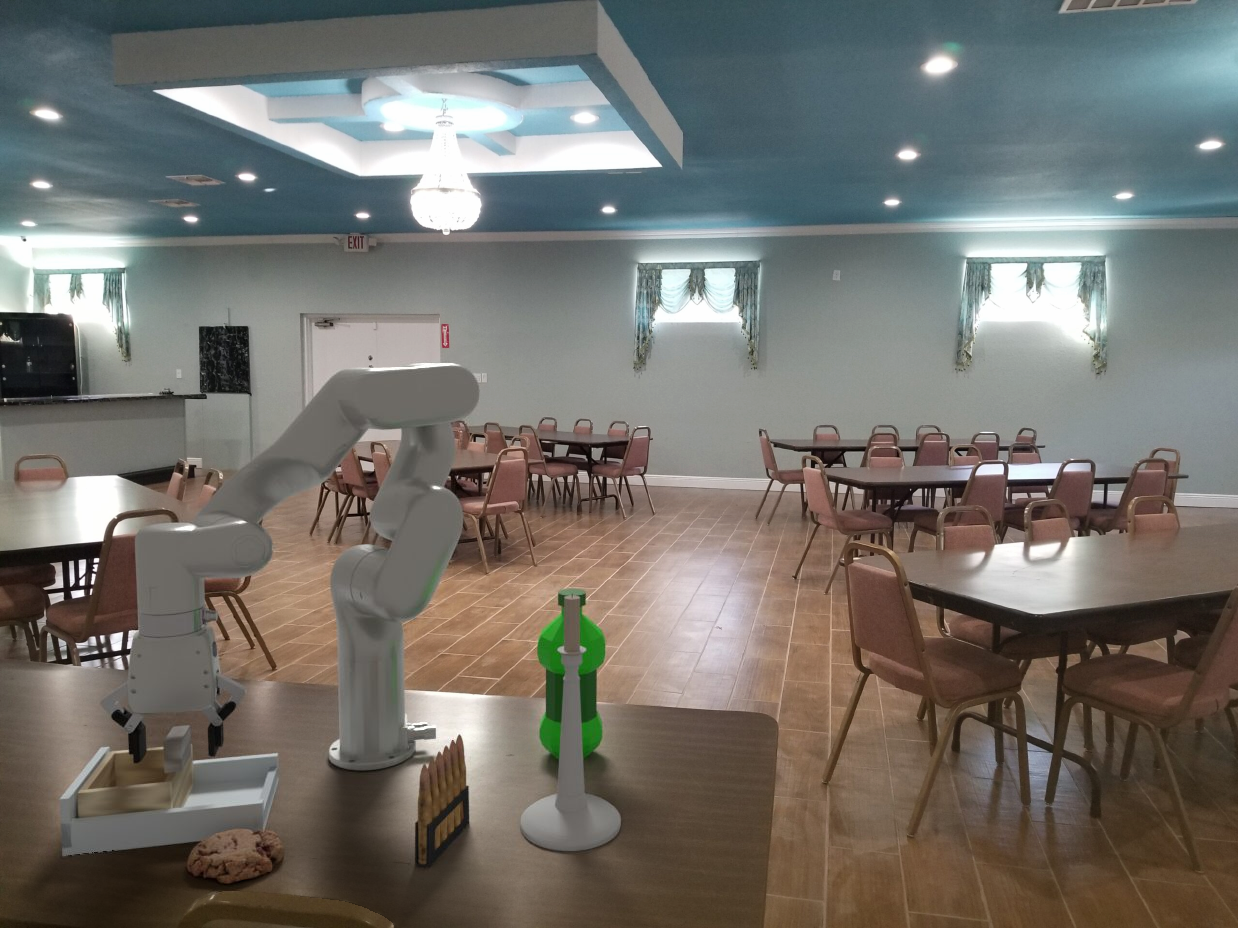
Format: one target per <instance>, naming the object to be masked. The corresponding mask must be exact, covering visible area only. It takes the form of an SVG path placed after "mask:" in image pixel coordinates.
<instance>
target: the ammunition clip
mask: <svg viewBox="0 0 1238 928" xmlns="http://www.w3.org/2000/svg"><path fill="white" fill-rule="evenodd" d="M465 756H466V755H465V746H464V741H463V737H462V735H461V734H458V735H457V737H456V740H454V739H452V740H451V742H450V743H449V747H448V745H445V746H444V748H443V750H442V753H441V751H438V752H437V754H436V757H435V760H434V757H431V758H430V759H429V763H428V765H427V764H425V763H424V764H423V765H422V767H421V770H420V774H419V775H420V776H419V783H418V784H419V788H418V798H417V821H416V822H415V825H414V866H417V867H422V868H427V869H430V868H431V867H432V865H433V864H434V863H435V862H436V861H437V860H438V859H439V858H440V857H441V856H442V854H443V853H444V852H445V851H446V850H447V849H448V848H449V847H450V845H452V844H453V842H454V841H455V840H456V839H457V838H458V837H459V836H460V835H461V834H462V832H464V830H465V829H466V828H467V827H468V826H469V825H470V795H469V794H470V791H469V789H470V786H469V785H467V766H466V759H465V758H466V757H465ZM427 766H428V767H427Z"/></svg>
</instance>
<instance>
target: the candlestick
mask: <svg viewBox="0 0 1238 928" xmlns="http://www.w3.org/2000/svg"><path fill="white" fill-rule="evenodd" d="M557 650H558V652H560V653H561V655H562V659H561V663H562V664H563V665H564V666H565V667H564V668H565V672H566V673H565V676H564V678H563V680H564V685H563V703H562V720H561V738H560V756H559V759H558V775H557V787H556V791H557V792H556V793H555V794H552V795H548V796H544V797H543V798H540V799H538V800H537V801H534V803H532V804H531V805H529V806H528V807H527V808H526V809H525V810H524V811H523V812H522V815H521V817H520V819H519V820H520V823H519V824H520V831H521V834H522V835H523V836H524V838H525V839H526V840H528V841H529V842H530V843H532V844H534V845H536V846H538V847H542V848H544V849H548V850H553V851H558V852H560V851H561V852H577V851H578V852H579V851H585V850H590V849H594V848H596V847H600V846H603V845H605V844H607V843H608V842H610V841H611V840H613V839H614V838H615V837H616V836H617V835H618V834H619V832H620V830H621V827H622V826H621V825H622V818H621V817H622V816H621V814H620V812H619V811H618V809H617V808H616V807H615V806H614V805H612V804H611V803H610V802H608V801H607V800H605V799H603V798H601V797H600V796H596V795H594V794H589V793H585V790H586V787H585V771H584V759H583V747H582V725H581V703H580V677H579V675H578V669H579V665H580V664H581V663H582V654H583V653H584V652H585V651H586V648H585V647H582V646H580V597H579V596H574V595H573V594H572V595H571V596H565V597H564V646H562V647H559V648H558V649H557Z"/></svg>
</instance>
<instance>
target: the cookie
mask: <svg viewBox="0 0 1238 928" xmlns="http://www.w3.org/2000/svg"><path fill="white" fill-rule="evenodd" d="M284 854H285V846H284V844H283V842H282V841H281V840H280V838H279V837H278V834H277V833H276V832H275V831H274V830H269V829H268V830H267V829H265V830H261V829H260V830H258V831H256V832H253V831H251V830H248V829H233V830H228V831H224V832H219V833H216V834H214V835H212V836H209V837H207V838H205V839H204V840H203V841H199V843H197V844H196V845H195V846H194V847H193V848H192V849H191V851H190V853H189V855H188V858H187V861H186V868H187V871H188V872H190V873H191V874H193V876H194V877H202V879H206V878H207V879H208V878H212V879H216V880H217V881H218V882H219V883H220V884H221V883H222V884H228V885H229V884H233V883H235V882H239V881H242V880H247V879H253V878H257V877H259V876H262V875H265V874H267V873H268V872H270V873H271V872H272V871H273V867H275V866H276V865H278V864H280V862H281V861H282V859H283V858H284Z"/></svg>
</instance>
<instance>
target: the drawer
mask: <svg viewBox="0 0 1238 928" xmlns="http://www.w3.org/2000/svg"><path fill="white" fill-rule="evenodd" d="M191 736H192V735H191V724H189V725H188V724H187V725H177V726H173V727H172V728H171V730H170V731H169V733H168V734H167V736H166V737H165V739H164V740H163V743H162V744H163V745H162V746H159V747H148V748H147V747H146V748H147V752H146V755H145V756H144V758H143V759H142V761H141V762H139V763H135V764H134V762H133V754H132V755H130V754H129V749H122V750H112V751H111V750H110V752H109V753H108V754H107V755H106V757H105V758H104V759H103V760H102V762H101V763H100V764H99V766H98V767H97V768H96V770H95V771H94V772H93V774H92V775H91V776H90V777H89V779H88V780H87V781H86V783H85V784H84V785H83V787H82V788H81V789H80V790H79V792H78V793H77V797H78V816H79V818H86V817H96V816H105V815H115V814H125V813H134V812H144V811H154V810H163V809H173V808H183V806H184V804H185V802H186V800H187V798H188V796H189V794H190V792H191V790H192V788H193V786H194V777H193V761H194V755H193V752H194V751H193V744H192V741H191V738H192V737H191Z"/></svg>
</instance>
